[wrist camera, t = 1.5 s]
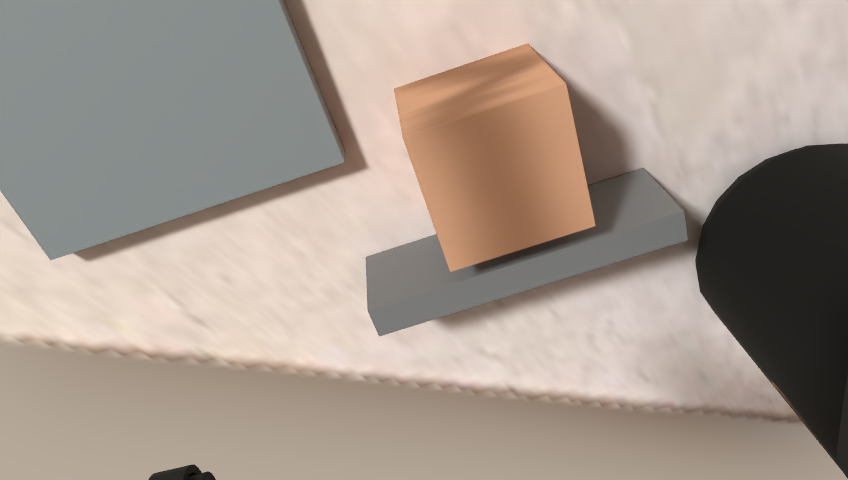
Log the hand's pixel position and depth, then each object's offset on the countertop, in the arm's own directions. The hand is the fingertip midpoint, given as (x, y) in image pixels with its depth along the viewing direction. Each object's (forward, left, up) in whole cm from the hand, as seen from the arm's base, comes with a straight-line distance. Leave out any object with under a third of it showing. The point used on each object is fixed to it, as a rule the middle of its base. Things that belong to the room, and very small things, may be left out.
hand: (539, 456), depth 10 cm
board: (+11, -4, -22) cm, 25 cm away
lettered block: (-2, +4, -22) cm, 22 cm away
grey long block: (-2, +10, -22) cm, 24 cm away
